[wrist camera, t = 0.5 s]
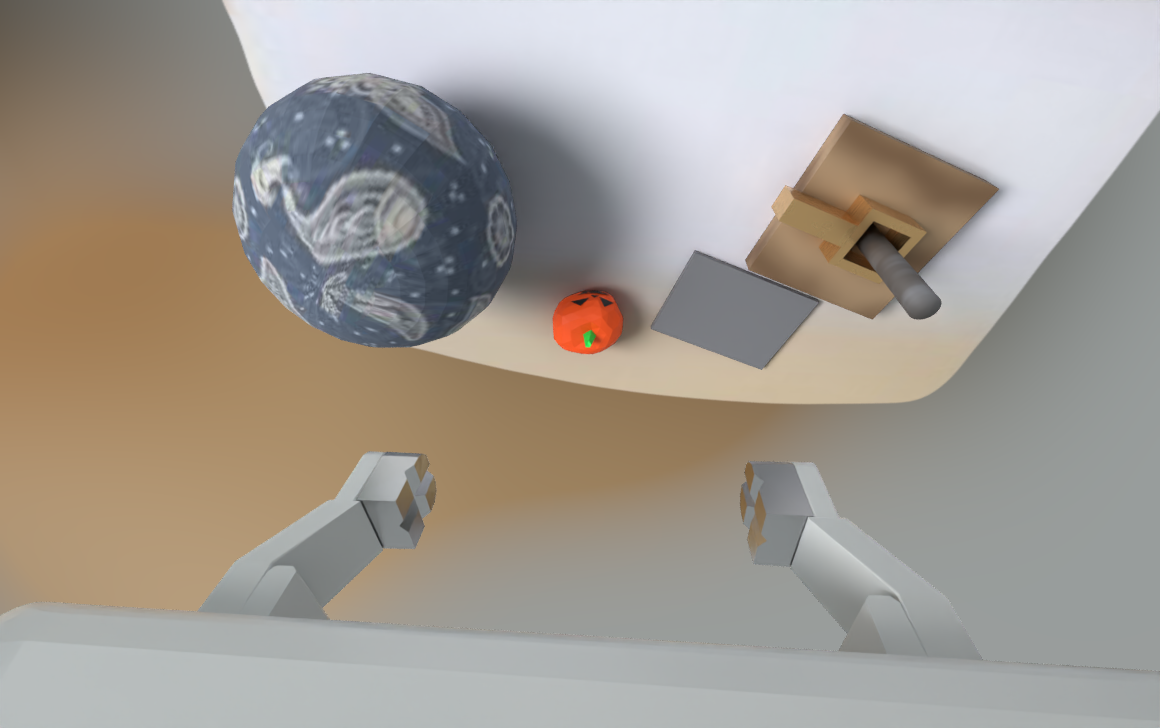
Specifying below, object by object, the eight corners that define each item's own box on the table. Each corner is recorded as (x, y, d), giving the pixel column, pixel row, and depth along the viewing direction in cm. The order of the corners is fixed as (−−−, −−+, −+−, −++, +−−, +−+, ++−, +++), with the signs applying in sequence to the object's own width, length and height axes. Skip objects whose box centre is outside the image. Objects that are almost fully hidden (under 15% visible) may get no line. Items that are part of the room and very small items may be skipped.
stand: (843, 113, 38) (921, 171, 27) (985, 180, 40) (1110, 258, 29) (745, 259, 46) (774, 346, 36) (865, 308, 48) (926, 404, 38)
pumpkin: (542, 300, 52) (531, 335, 47) (605, 270, 49) (600, 304, 44) (576, 346, 56) (569, 382, 51) (636, 321, 53) (635, 357, 48)
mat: (694, 250, 46) (695, 253, 46) (817, 299, 48) (818, 302, 48) (650, 325, 53) (650, 328, 52) (760, 366, 55) (761, 369, 54)
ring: (797, 167, 39) (806, 179, 36) (911, 217, 40) (927, 232, 38) (760, 222, 42) (767, 237, 40) (867, 267, 43) (879, 284, 41)
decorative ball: (329, 7, 37) (105, 34, 22) (567, 116, 40) (517, 207, 25) (324, 228, 49) (181, 344, 34) (505, 298, 53) (447, 432, 37)
